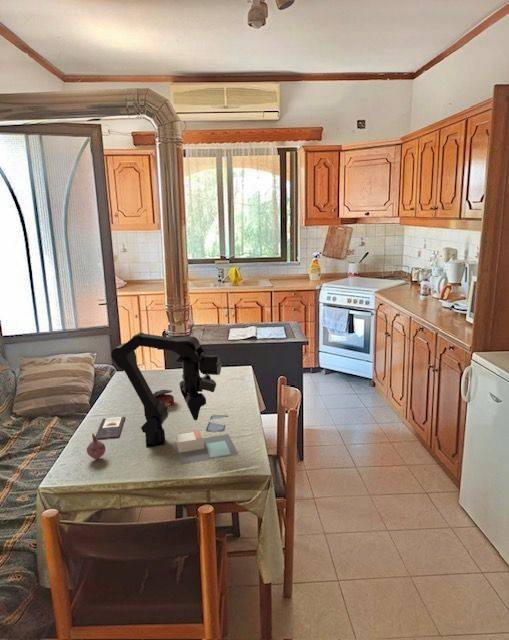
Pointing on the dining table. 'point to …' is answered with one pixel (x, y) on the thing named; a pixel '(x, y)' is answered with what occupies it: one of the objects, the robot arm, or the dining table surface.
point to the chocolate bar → (110, 428)
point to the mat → (209, 450)
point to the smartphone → (215, 424)
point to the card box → (190, 441)
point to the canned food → (164, 397)
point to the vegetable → (96, 448)
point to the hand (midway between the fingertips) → (193, 414)
